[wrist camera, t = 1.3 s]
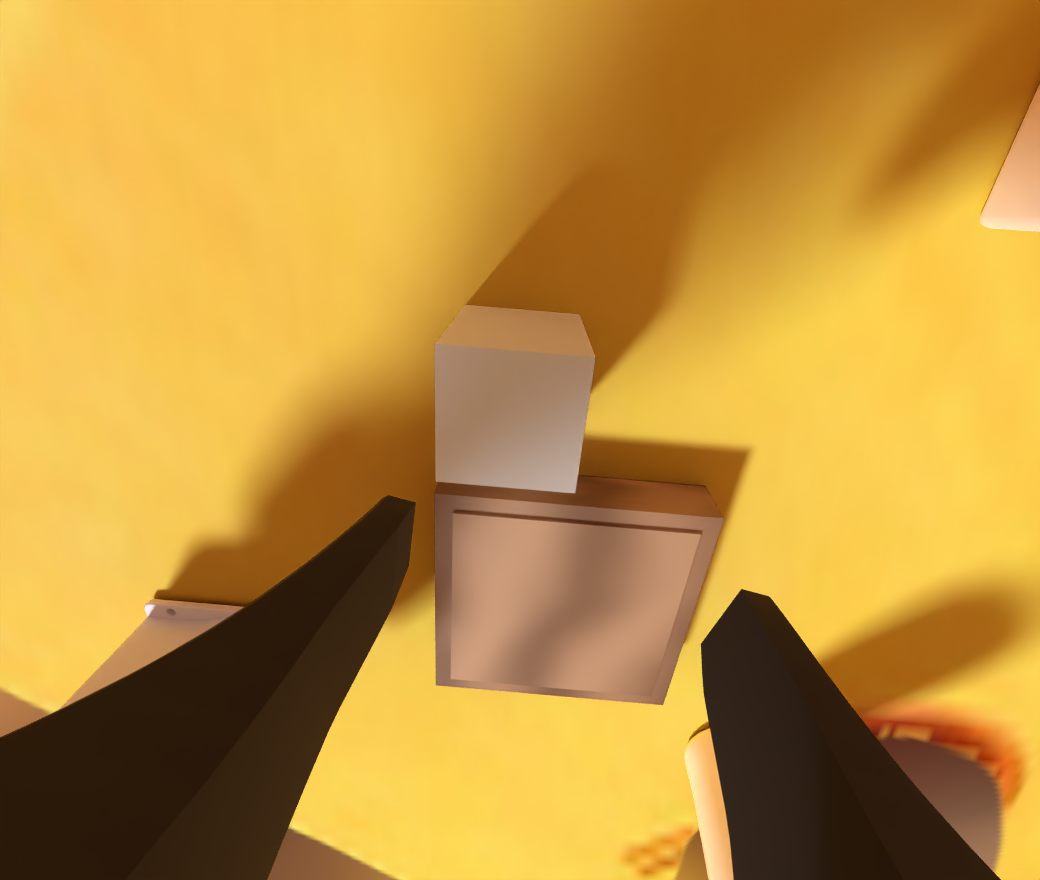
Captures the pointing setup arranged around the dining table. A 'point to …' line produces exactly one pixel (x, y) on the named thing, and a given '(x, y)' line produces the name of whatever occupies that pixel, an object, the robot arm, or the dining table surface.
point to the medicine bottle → (1018, 180)
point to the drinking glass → (709, 805)
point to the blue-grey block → (512, 398)
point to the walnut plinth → (569, 585)
